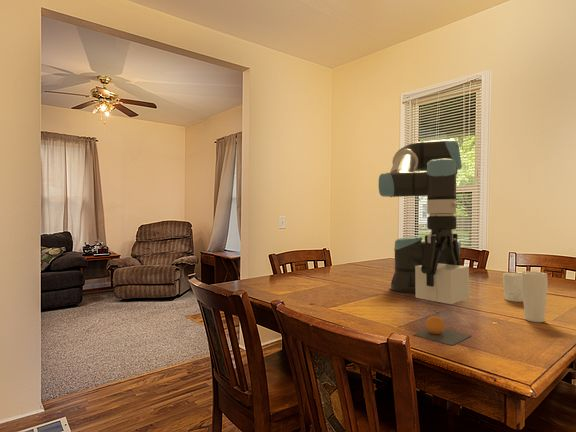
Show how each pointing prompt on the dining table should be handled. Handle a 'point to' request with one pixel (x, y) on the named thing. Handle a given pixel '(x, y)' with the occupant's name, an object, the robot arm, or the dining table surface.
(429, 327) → the ball
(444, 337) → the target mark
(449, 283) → the pale grey cube
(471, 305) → the dining table surface
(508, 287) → the white cup
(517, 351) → the dining table surface
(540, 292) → the drinking glass
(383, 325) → the dining table surface
